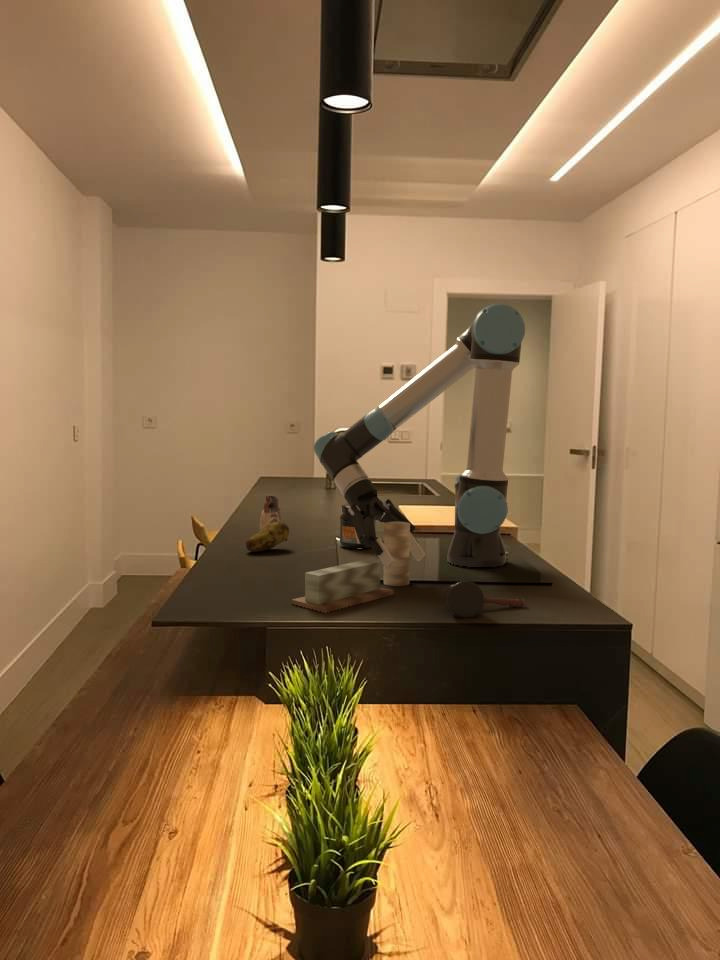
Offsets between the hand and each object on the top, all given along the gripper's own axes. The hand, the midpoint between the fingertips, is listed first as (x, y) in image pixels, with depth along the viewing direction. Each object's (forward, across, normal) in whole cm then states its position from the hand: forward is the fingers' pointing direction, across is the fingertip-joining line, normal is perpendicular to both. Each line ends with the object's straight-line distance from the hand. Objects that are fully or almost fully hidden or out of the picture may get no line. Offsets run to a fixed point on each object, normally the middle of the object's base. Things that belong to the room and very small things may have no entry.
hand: (406, 561), depth 192 cm
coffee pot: (+23, +7, +14) cm, 28 cm away
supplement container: (-24, -27, -33) cm, 49 cm away
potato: (-34, -5, -42) cm, 55 cm away
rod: (+2, 0, -6) cm, 6 cm away
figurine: (-49, -26, -58) cm, 80 cm away
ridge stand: (+3, +19, -5) cm, 20 cm away
